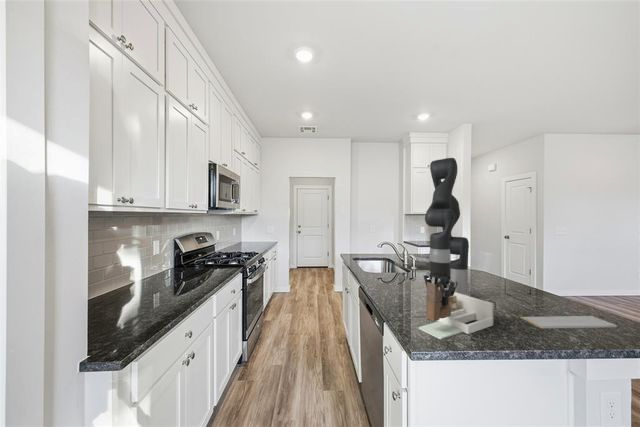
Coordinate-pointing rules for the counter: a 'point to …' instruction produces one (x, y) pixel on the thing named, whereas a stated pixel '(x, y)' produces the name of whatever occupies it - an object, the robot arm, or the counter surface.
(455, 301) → the offcut stack
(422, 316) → the counter surface
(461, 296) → the offcut rack
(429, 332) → the sage mat
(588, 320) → the baseboard
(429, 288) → the wooden block
